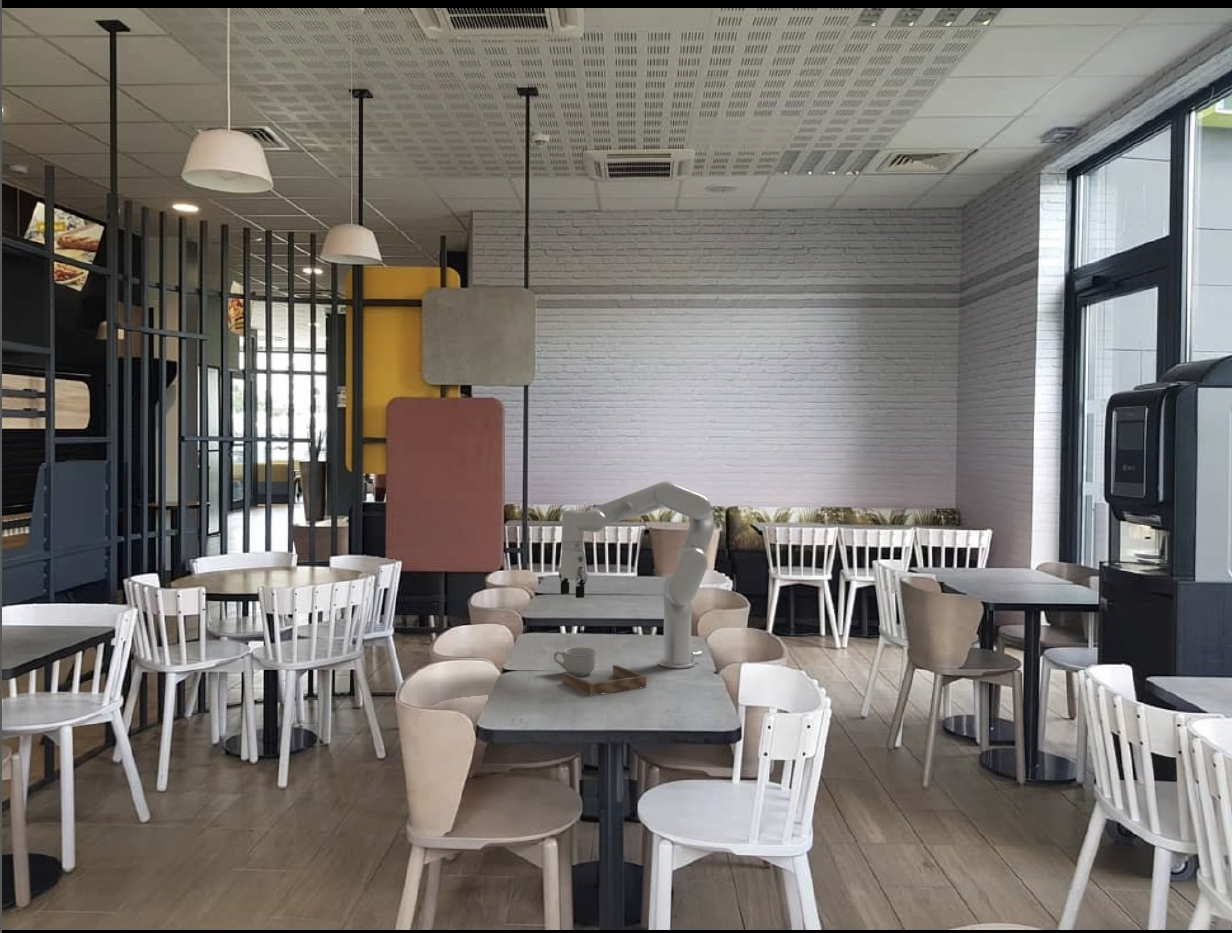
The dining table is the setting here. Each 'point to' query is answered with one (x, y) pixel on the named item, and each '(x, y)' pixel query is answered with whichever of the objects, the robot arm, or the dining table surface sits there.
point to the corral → (607, 682)
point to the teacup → (577, 660)
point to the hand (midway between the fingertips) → (572, 595)
